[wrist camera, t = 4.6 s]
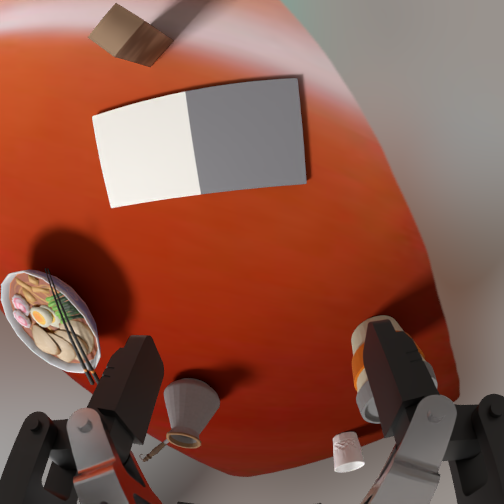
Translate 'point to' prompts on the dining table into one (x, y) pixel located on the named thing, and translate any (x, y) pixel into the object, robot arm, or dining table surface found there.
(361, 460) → the white cup
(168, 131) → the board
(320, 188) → the dining table surface
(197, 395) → the coffee pot
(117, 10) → the block
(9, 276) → the ramen bowl
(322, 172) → the dining table surface
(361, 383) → the reusable coffee cup
